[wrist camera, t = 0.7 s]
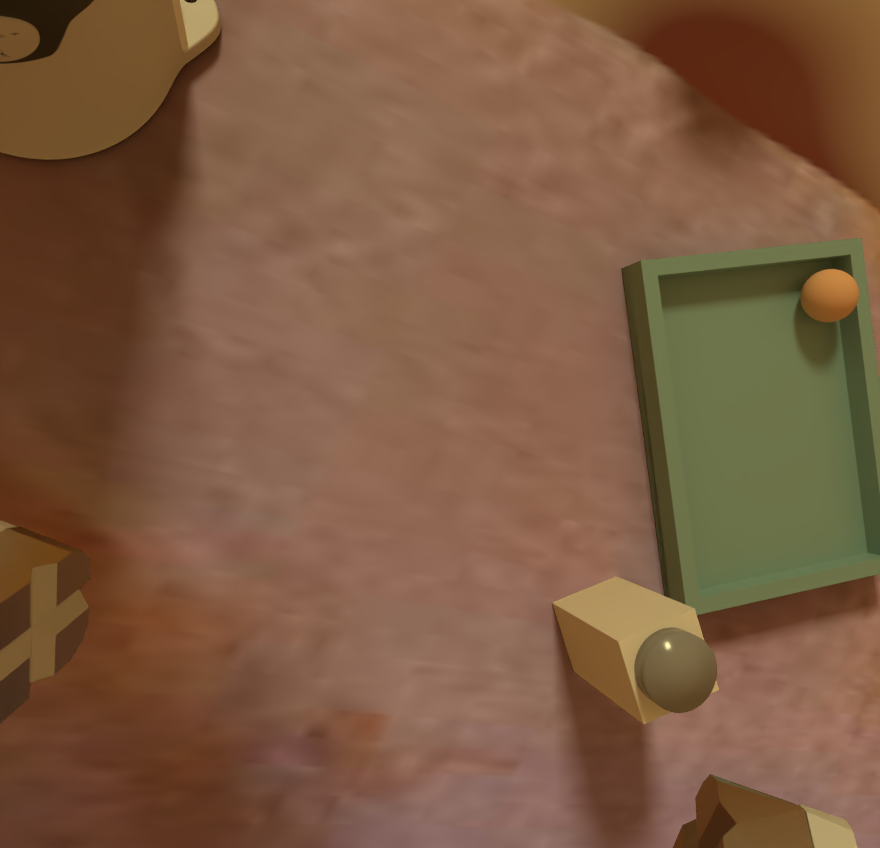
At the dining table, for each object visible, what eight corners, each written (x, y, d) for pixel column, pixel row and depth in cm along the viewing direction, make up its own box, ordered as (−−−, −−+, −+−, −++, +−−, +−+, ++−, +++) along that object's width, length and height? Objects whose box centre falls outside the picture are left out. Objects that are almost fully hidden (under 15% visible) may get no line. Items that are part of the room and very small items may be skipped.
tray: (621, 268, 50) (640, 260, 47) (833, 246, 54) (861, 237, 51) (666, 608, 51) (687, 617, 48) (872, 562, 54) (901, 569, 52)
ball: (785, 277, 52) (822, 267, 48) (829, 272, 53) (868, 261, 49) (792, 328, 52) (829, 321, 49) (835, 322, 53) (874, 315, 49)
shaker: (552, 602, 49) (629, 647, 39) (616, 576, 50) (707, 613, 40) (573, 671, 49) (655, 733, 39) (637, 643, 50) (732, 697, 40)
